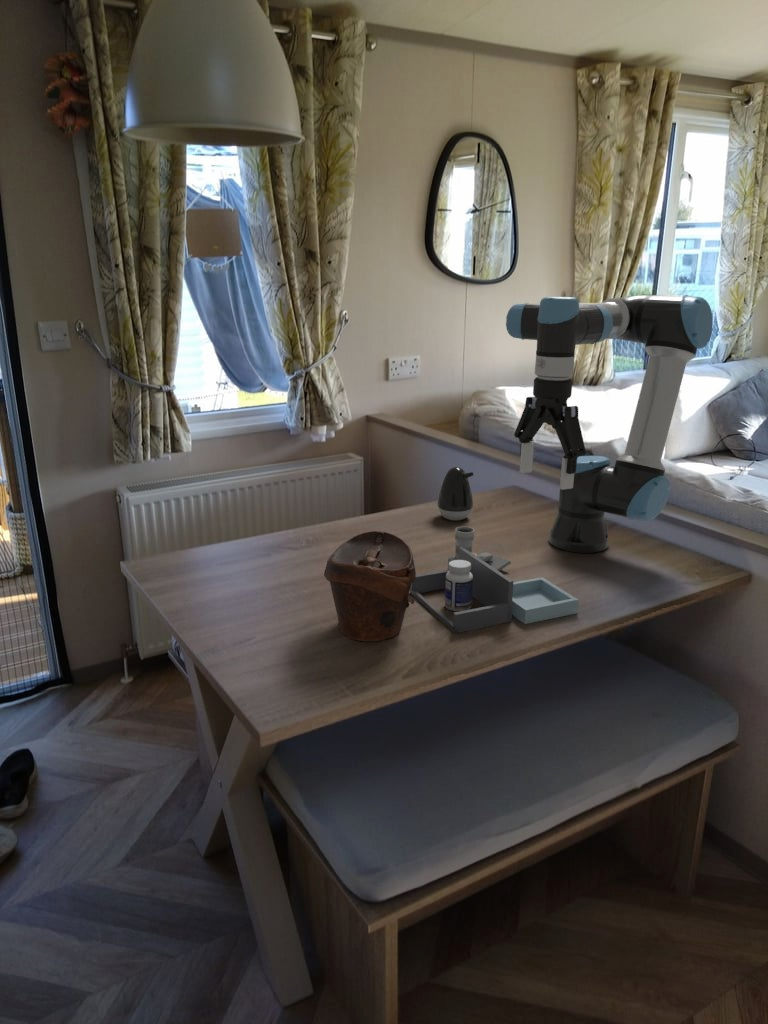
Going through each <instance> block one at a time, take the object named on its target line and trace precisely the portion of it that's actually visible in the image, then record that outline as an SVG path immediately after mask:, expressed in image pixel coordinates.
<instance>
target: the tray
mask: <svg viewBox="0 0 768 1024" xmlns="http://www.w3.org/2000/svg"><path fill="white" fill-rule="evenodd" d="M578 607H579V599H578V598H576V597H575V596H573V595H571V594H570V593H568V592H566V591H565V590H563V589H562V588H561V587H559V586H558V585H555V584H554V583H553V582H550V581H549V580H547V579H546V578H544V577H543V576H541V577H536V578H530V579H525V580H518V581H514V582H513V598H512V614H511V616H513V617H514V618H516V619H517V620H519V621H520V622H521V623H523V624H524V625H526V624H527V625H528V624H532V623H536V622H540V621H546V620H551V619H556V618H561V617H565V616H571V615H575V614H578Z"/></svg>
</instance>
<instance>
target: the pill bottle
mask: <svg viewBox="0 0 768 1024" xmlns="http://www.w3.org/2000/svg"><path fill="white" fill-rule="evenodd" d="M449 570H450V571H449V572H448V573H447V574H446V588H445V592H444V593H445V596H444V604H445V607H446V609H447V610H449V611H452V612H460V611H465V610H470V609H472V606H473V596H472V588H473V575H472V574H471V572H470V570H471V563H470V562H468V561H465V560H453V561H451V562H449Z"/></svg>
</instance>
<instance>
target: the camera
mask: <svg viewBox="0 0 768 1024" xmlns="http://www.w3.org/2000/svg"><path fill="white" fill-rule="evenodd" d="M454 533H455V534H454V539H455V554H453V555H451V556H449V557H448V558H447V570H449V562H451V561H453V560H458V553H459V547H463V548H465V549H466V550H468V551H469V552H471V553H472V554H474V555H475V556H477V557H478V558H480V559H481V560H483V561H484V562H486V563H487V564H489V565H490V566H492V567H493V568H495V569H496V570H498V571H499V572H501V570H503V569H505V568H506V567H507V566H509V565H511V564H512V562H511V561H510V560H507V559H505V558H502V557H500V556H497V555H496V554H493V553H489V552H487V551H482V552H480V553H477V552H474V551H472V550H473V542H474V537H475V529H474V528H473V527H469V526H459V527H458V526H457V527H455V532H454Z"/></svg>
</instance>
